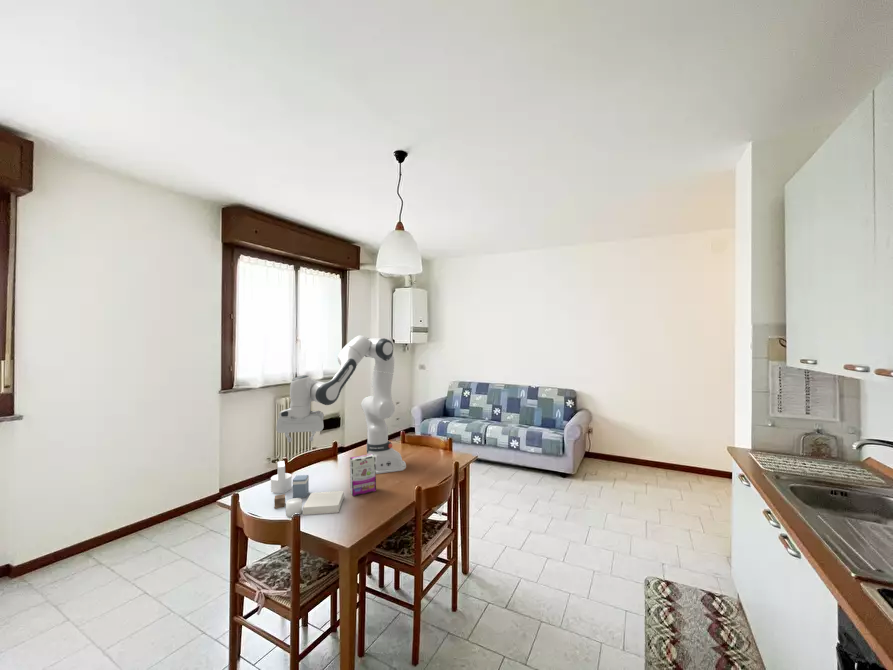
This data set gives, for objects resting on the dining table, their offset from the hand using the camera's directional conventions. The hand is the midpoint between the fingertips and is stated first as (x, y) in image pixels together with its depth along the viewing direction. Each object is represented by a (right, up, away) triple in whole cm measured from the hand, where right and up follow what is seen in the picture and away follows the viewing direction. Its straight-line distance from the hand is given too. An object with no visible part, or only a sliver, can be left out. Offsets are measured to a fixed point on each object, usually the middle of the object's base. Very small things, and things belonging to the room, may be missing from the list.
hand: (300, 441), depth 167 cm
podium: (+15, -24, -12) cm, 31 cm away
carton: (0, -24, 0) cm, 24 cm away
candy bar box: (+28, -24, +2) cm, 37 cm away
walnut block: (-4, -25, -11) cm, 27 cm away
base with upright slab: (-12, -25, +6) cm, 28 cm away
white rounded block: (+5, -24, -18) cm, 30 cm away
